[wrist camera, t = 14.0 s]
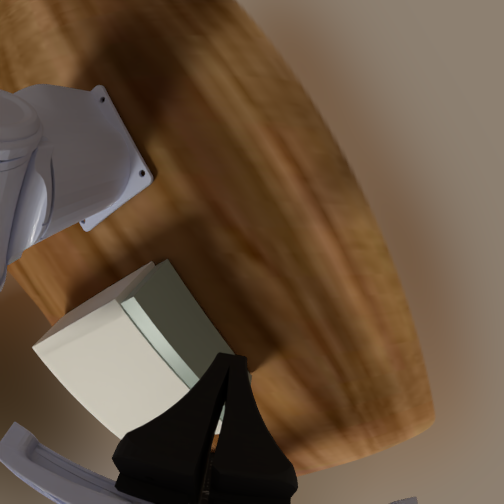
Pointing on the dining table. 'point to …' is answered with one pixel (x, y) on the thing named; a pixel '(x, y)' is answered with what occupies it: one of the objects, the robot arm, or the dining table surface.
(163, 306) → the grey green drawer
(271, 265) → the dining table surface
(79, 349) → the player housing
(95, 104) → the robot arm
